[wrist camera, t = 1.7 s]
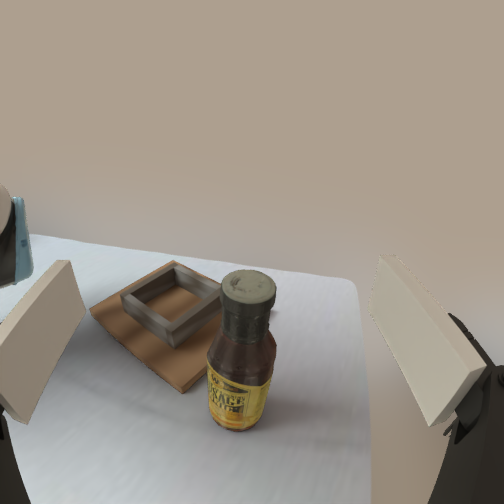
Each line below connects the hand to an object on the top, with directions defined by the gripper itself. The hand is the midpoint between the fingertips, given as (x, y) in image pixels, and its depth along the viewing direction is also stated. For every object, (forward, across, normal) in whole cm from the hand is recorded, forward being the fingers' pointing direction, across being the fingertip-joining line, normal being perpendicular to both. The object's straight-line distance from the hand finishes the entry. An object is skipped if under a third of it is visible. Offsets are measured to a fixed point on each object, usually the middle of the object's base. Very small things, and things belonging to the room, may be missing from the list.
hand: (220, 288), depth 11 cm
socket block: (+27, -10, -23) cm, 37 cm away
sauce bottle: (+10, 0, -25) cm, 27 cm away
